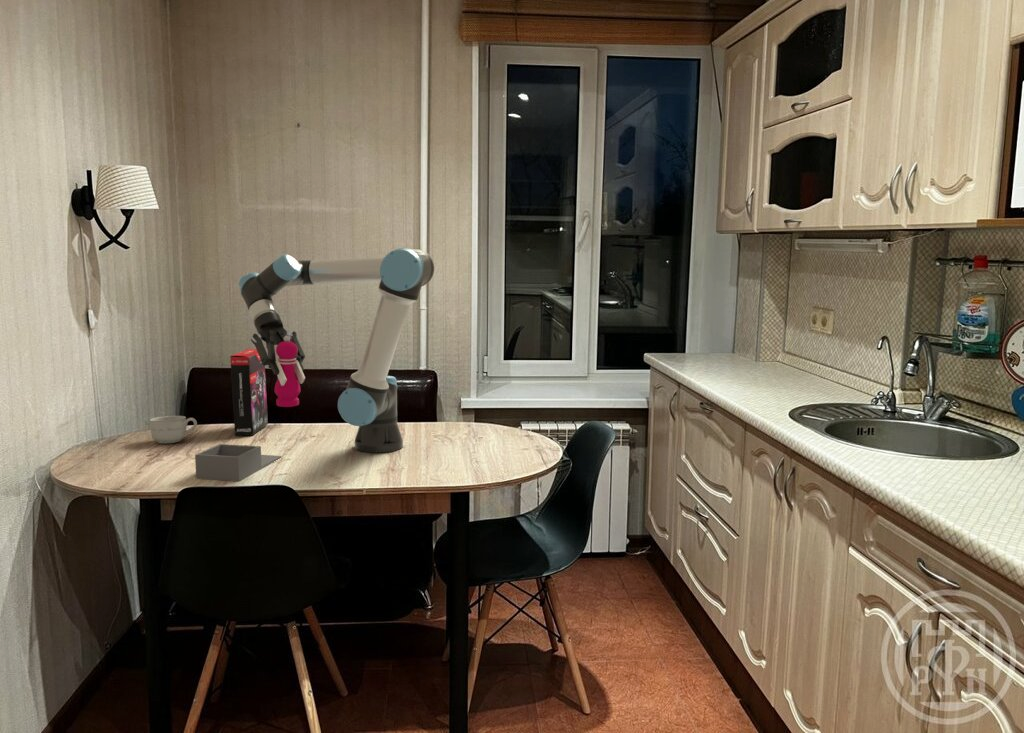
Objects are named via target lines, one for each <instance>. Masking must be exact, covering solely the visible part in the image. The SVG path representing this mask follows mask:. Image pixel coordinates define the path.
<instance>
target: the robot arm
mask: <svg viewBox="0 0 1024 733" xmlns="http://www.w3.org/2000/svg"><path fill="white" fill-rule="evenodd" d="M434 273H435V262H434V261H433V259H432V257H431V255H430V254H429V253H428V252H427V251H426V250H425V251H424V250H423V249H420V248H407V247H401V248H400V247H399V248H396V249H393V250H392V251H389V252H388V253H387V254H386V255H385V256H378V257H377V256H376V257H358V258H357V257H356V258H355V257H353V258H352V257H350V258H335V259H334V258H333V259H313V260H310V259H309V260H305V259H304V260H296V258H294V257H293V256H292V255H289V254H288V253H285V254H284V253H283V255H280V256H279V257H278V258H276V259H274V260H273V262H272V263H270V264H269V265H268V266H267V267H266V268H265V269H264V270H262V271H261V272H260V273H259V272H249V273H248V274H244V275H243V276H242V277H241V278H240V279H239V281H238V287H239V291H240V295H241V297H242V299H243V300H244V304H245V305H246V307H247V310H248V312H249V315H250V317H251V320H252V322H253V323H254V324H253V325H254V326H255V329H256V332H257V333H253V334H252V337H251V339H250V342H252V344H254V346H255V349H257V352H258V354H259V357H260V359H261V362H262V364H263V365H264V366H265V367H266V366H267V367H268V369H271V371H272V373H273V375H274V376H277V380H278V379H279V381H280V384H281V386H283V385H284V384H285V382H286V381H287V379H286V376H285V374H284V372H283V369H282V367H281V365H280V362H279V361H277V359H276V358H277V357H276V348H275V346H277V345H278V344H279V343H280V342H283V341H284V337H285V336H289V337H290V340H289V341H291V342H293V343H295V344H296V346H297V348H298V353H297V355H296V356H295V358H296V363H295V366H294V370H295V375H296V378H297V380H298V382H299V384H301V385H302V384H303V383H304V382H305V379H306V376H305V374H304V366H303V362H304V360H305V358H306V355H305V353H304V350H303V348H302V346H301V344H300V341H299V340H298V338H297V337H298V336H297V331H295V330H293V331H292V332H289V331H287V330H286V329H285V328H284V323H283V320H282V319H281V317H280V314H279V312H278V310H277V307H276V305H275V303H274V301H273V298H272V297H274V296H275V295H277V294H278V293H279V292H280V291H282V290H283V289H284V288H285V287H294V286H308V285H309V286H310V285H328V284H329V285H331V284H356V283H357V284H358V283H359V284H363V283H379V285H378V290H379V292H380V294H381V296H380V300H379V303H378V306H377V308H376V311H375V316H374V318H373V322H372V326H371V329H370V331H369V334H368V338H367V341H366V344H365V347H364V350H363V353H362V356H361V360H360V363H359V367H358V369H357V371H355V372H353V373H352V374H351V375H350V378H349V381H348V384H347V386H346V389H345V390H344V391H342V393H341V394H340V395H339V397H338V400H337V410H338V413H339V415H340V416H341V418H342V419H343V420H344V422H346V423H347V424H349V425H351V426H355V427H358V428H357V432H356V435H355V439H354V449H355V450H356V451H359V452H365V453H388V452H389V453H390V452H395V451H399V450H401V449H402V448H403V447H404V444H403V443H404V440H403V437H402V434H401V431H400V427H399V424H398V384H397V378H396V377H395V376H392V375H389V371H390V367H391V365H392V362H393V359H394V356H395V353H396V349H397V347H398V343H399V340H400V338H401V333H402V331H403V328H404V325H405V321H406V319H407V316H408V312H409V309H410V306H411V304H414V303H415V302H417V301H418V299H419V296H420V294H421V290H422V287H424V286H426V285H427V284H428V283H430V282H431V280H432V279H433V277H434V275H435V274H434ZM263 342H265V344H264V343H263ZM265 345H266V347H265ZM266 349H267V350H266Z"/></svg>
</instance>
